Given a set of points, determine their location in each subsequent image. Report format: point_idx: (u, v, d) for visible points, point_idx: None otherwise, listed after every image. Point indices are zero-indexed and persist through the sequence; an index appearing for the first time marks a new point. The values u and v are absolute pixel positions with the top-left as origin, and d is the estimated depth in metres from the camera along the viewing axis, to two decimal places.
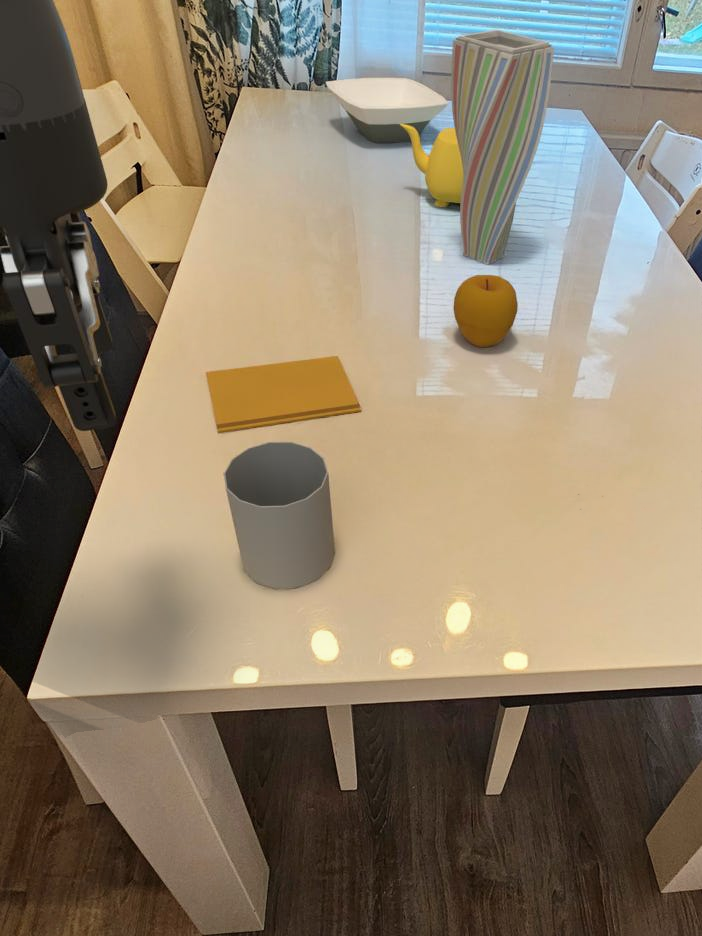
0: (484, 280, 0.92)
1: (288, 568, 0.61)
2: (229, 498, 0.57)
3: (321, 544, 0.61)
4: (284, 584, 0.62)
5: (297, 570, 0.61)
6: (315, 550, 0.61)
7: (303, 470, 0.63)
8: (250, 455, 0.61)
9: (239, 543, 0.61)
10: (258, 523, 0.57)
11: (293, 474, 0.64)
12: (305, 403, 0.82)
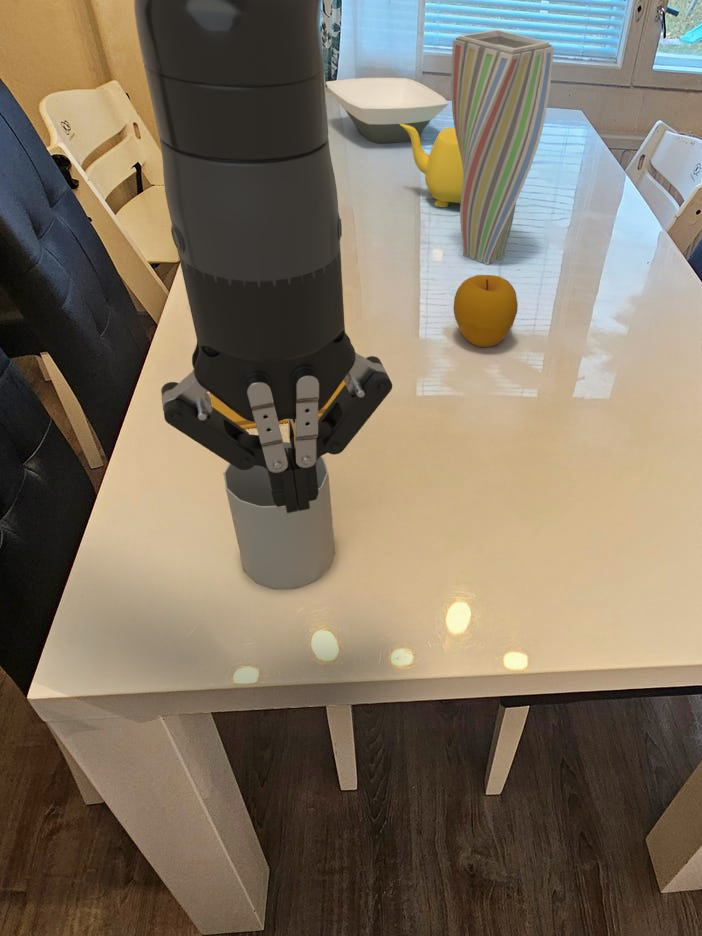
0: (484, 280, 0.92)
1: (288, 568, 0.61)
2: (229, 498, 0.57)
3: (321, 544, 0.61)
4: (284, 584, 0.62)
5: (297, 570, 0.61)
6: (315, 550, 0.61)
7: None
8: None
9: (239, 543, 0.61)
10: (258, 523, 0.57)
11: None
12: None
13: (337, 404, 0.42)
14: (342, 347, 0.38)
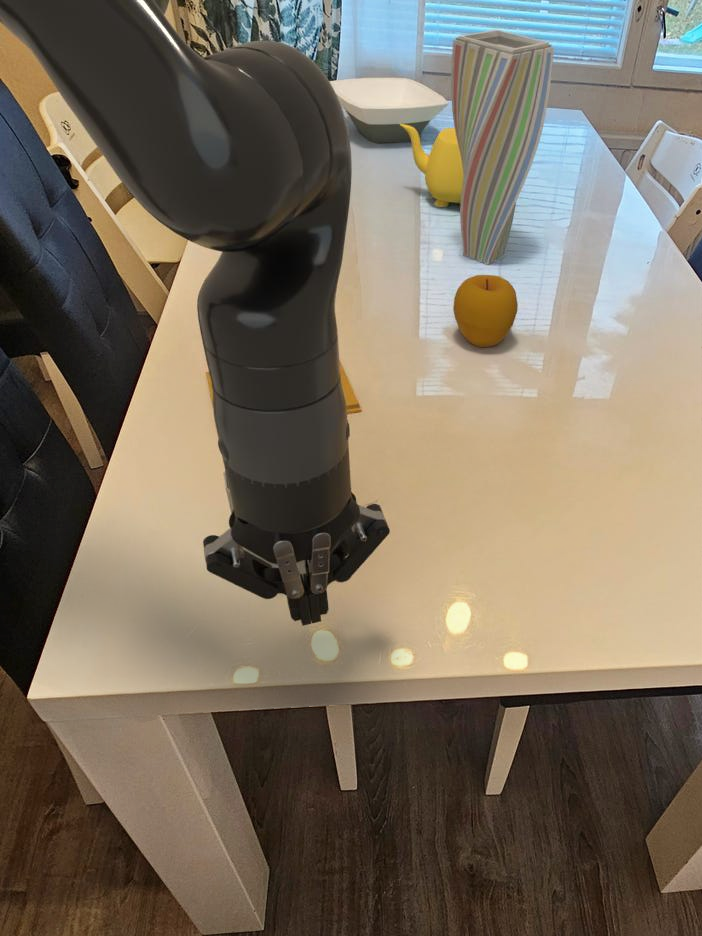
0: (484, 280, 0.92)
1: None
2: (229, 498, 0.57)
3: None
4: None
5: None
6: None
7: None
8: None
9: None
10: None
11: None
12: None
13: (344, 541, 0.52)
14: (349, 508, 0.47)
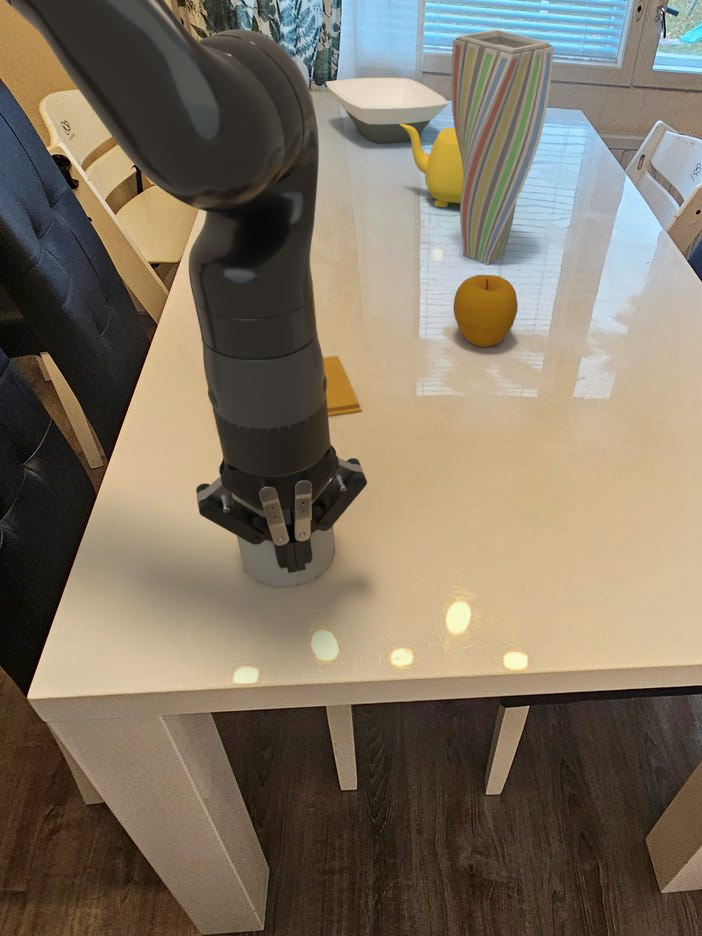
0: (484, 280, 0.92)
1: None
2: None
3: (321, 541, 0.62)
4: (285, 582, 0.62)
5: None
6: (316, 547, 0.61)
7: None
8: None
9: (239, 541, 0.61)
10: None
11: None
12: None
13: (326, 493, 0.56)
14: (329, 458, 0.52)
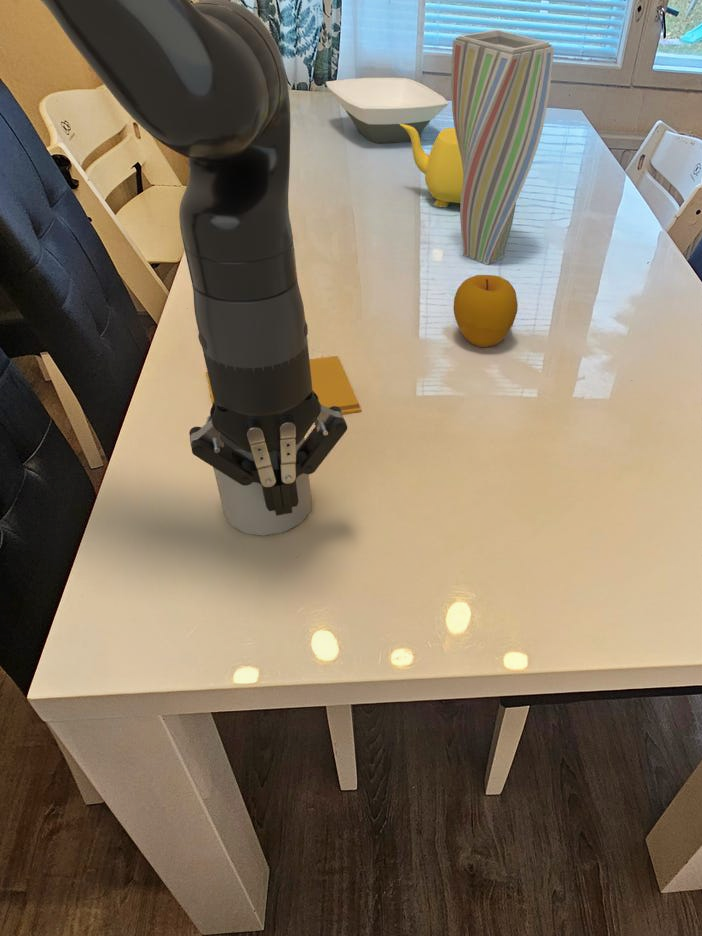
0: (484, 280, 0.92)
1: None
2: None
3: (303, 485, 0.66)
4: (274, 529, 0.66)
5: None
6: (300, 491, 0.66)
7: None
8: None
9: (226, 496, 0.64)
10: None
11: None
12: None
13: (310, 439, 0.61)
14: (311, 403, 0.56)
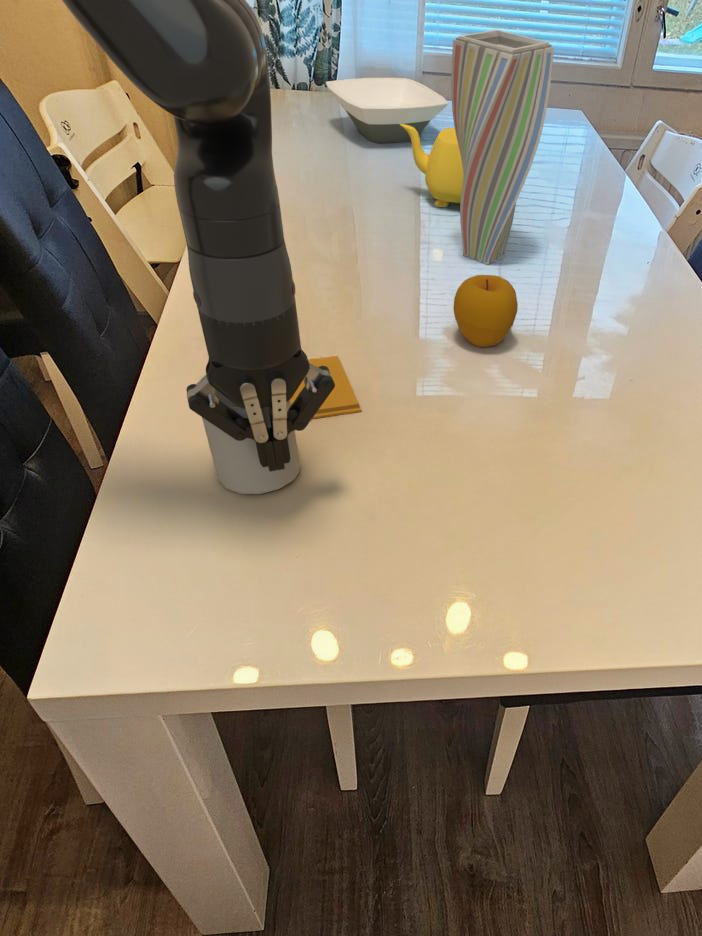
0: (484, 280, 0.92)
1: None
2: None
3: (292, 443, 0.70)
4: (268, 487, 0.70)
5: (278, 470, 0.70)
6: (290, 448, 0.70)
7: None
8: None
9: (221, 458, 0.68)
10: None
11: None
12: None
13: (300, 397, 0.64)
14: (300, 360, 0.60)
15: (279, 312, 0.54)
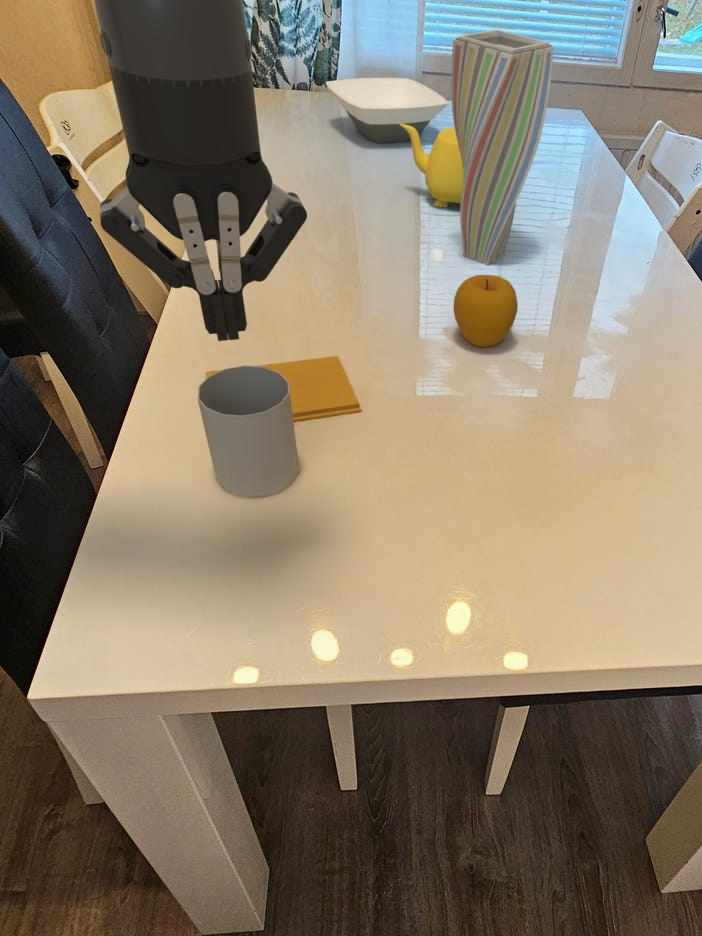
0: (484, 280, 0.92)
1: (269, 474, 0.69)
2: (210, 417, 0.64)
3: (292, 449, 0.70)
4: (267, 491, 0.70)
5: (276, 475, 0.70)
6: (289, 454, 0.70)
7: (257, 390, 0.71)
8: (211, 383, 0.68)
9: (220, 462, 0.68)
10: (242, 433, 0.65)
11: (247, 397, 0.72)
12: (305, 403, 0.82)
13: (261, 237, 0.48)
14: (258, 170, 0.43)
15: (226, 73, 0.38)
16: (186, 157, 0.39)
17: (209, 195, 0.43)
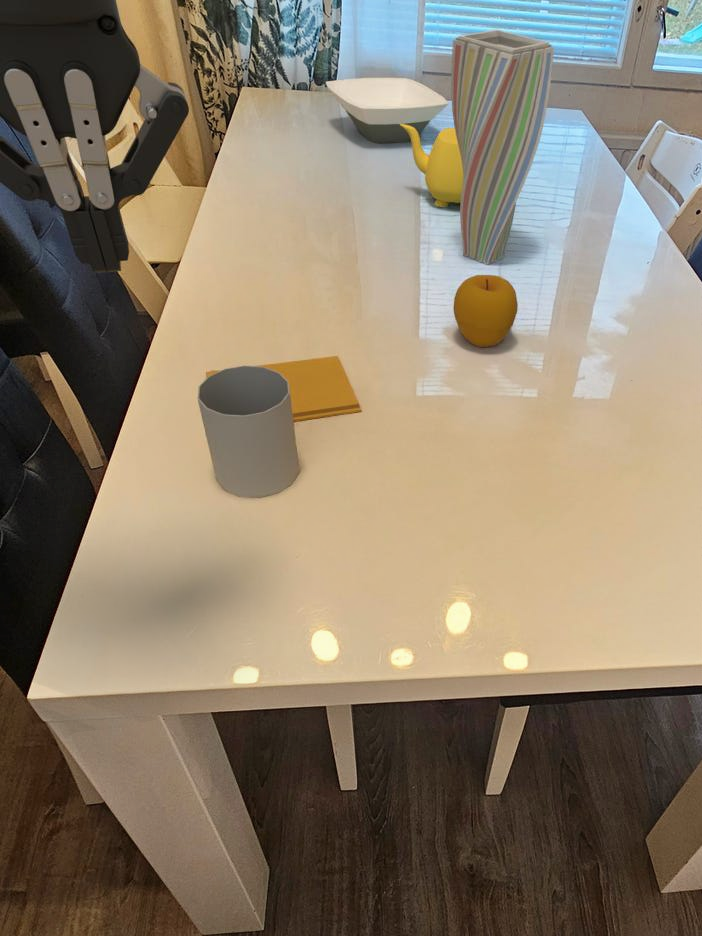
0: (484, 280, 0.92)
1: (269, 474, 0.69)
2: (210, 417, 0.64)
3: (292, 449, 0.70)
4: (267, 491, 0.70)
5: (276, 475, 0.70)
6: (289, 454, 0.70)
7: (257, 390, 0.71)
8: (211, 383, 0.68)
9: (220, 462, 0.68)
10: (242, 433, 0.65)
11: (247, 397, 0.72)
12: (305, 403, 0.82)
13: (138, 140, 0.39)
14: (118, 43, 0.35)
15: None
16: (4, 11, 0.30)
17: (55, 75, 0.34)
